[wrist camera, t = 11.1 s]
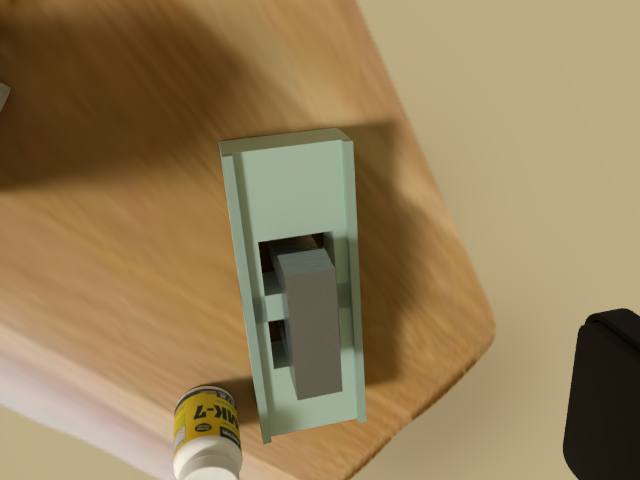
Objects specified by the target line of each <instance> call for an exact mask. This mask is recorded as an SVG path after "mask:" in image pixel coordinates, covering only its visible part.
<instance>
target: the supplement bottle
mask: <svg viewBox="0 0 640 480" xmlns="http://www.w3.org/2000/svg"><path fill="white" fill-rule="evenodd" d="M241 467H242V450H241V442H240V433H239V426H238V418H237V408H236V404H235V401H234V399H233V397H232V396H231V395H230V394H229V393H228V392H227V391H225V390H224V389H221V388H219V387H214V386H201V387H197V388H194V389H192V390H190V391H188V392H187V393H185V394H184V395H183V396H182V397H181V398H180V400H179V401H178V403H177V405H176V409H175V420H174V451H173V469H174V474H175V476H176V478H177V480H239V472H240V470H241Z"/></svg>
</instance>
